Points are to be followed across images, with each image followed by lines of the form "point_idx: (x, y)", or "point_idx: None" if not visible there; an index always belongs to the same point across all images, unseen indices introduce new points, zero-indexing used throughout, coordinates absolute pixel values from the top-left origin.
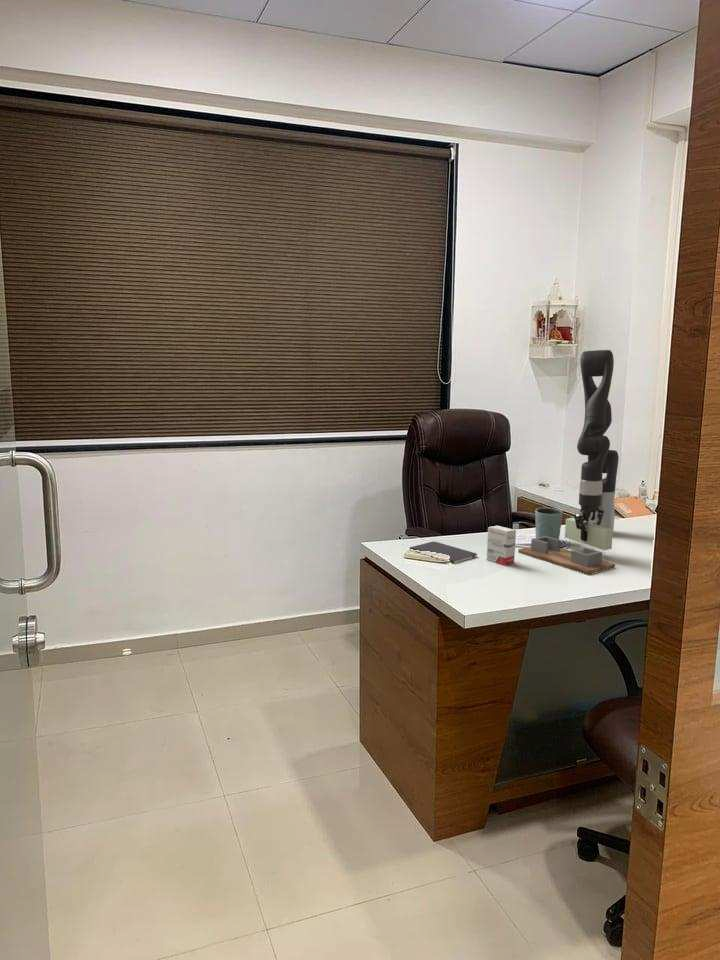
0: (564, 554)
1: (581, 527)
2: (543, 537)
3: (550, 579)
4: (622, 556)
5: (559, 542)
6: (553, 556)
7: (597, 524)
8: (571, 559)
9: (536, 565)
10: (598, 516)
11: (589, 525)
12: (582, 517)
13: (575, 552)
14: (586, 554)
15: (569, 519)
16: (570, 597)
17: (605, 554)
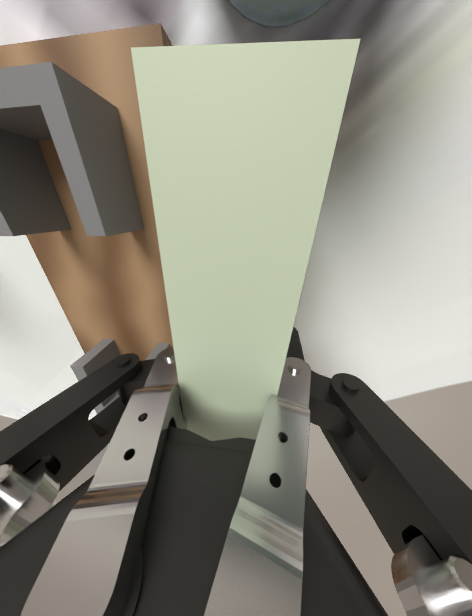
0: (133, 276)
1: (115, 405)
2: (15, 103)
3: (14, 359)
4: (329, 370)
5: (109, 234)
6: (78, 269)
7: (321, 420)
8: (97, 346)
9: (8, 273)
10: (386, 516)
11: (192, 427)
12: (32, 520)
13: (79, 378)
14: (99, 407)
15: (169, 150)
16: (21, 416)
17: (307, 330)
